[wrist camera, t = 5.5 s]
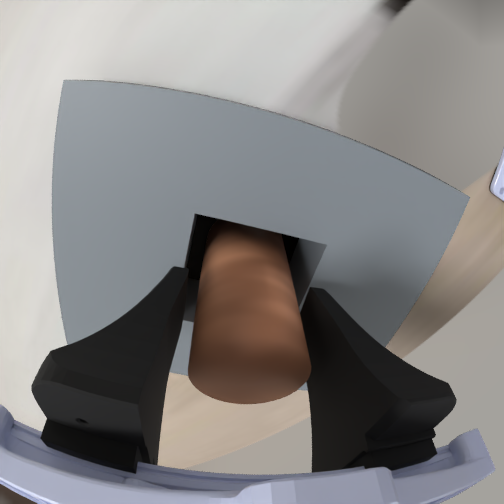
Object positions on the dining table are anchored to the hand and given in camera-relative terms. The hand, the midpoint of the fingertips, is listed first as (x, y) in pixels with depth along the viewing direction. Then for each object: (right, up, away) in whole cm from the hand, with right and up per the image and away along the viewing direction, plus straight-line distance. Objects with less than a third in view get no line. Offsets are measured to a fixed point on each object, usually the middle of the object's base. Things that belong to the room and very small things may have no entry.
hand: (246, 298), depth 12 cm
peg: (0, +2, +4) cm, 4 cm away
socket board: (0, +2, +4) cm, 4 cm away
